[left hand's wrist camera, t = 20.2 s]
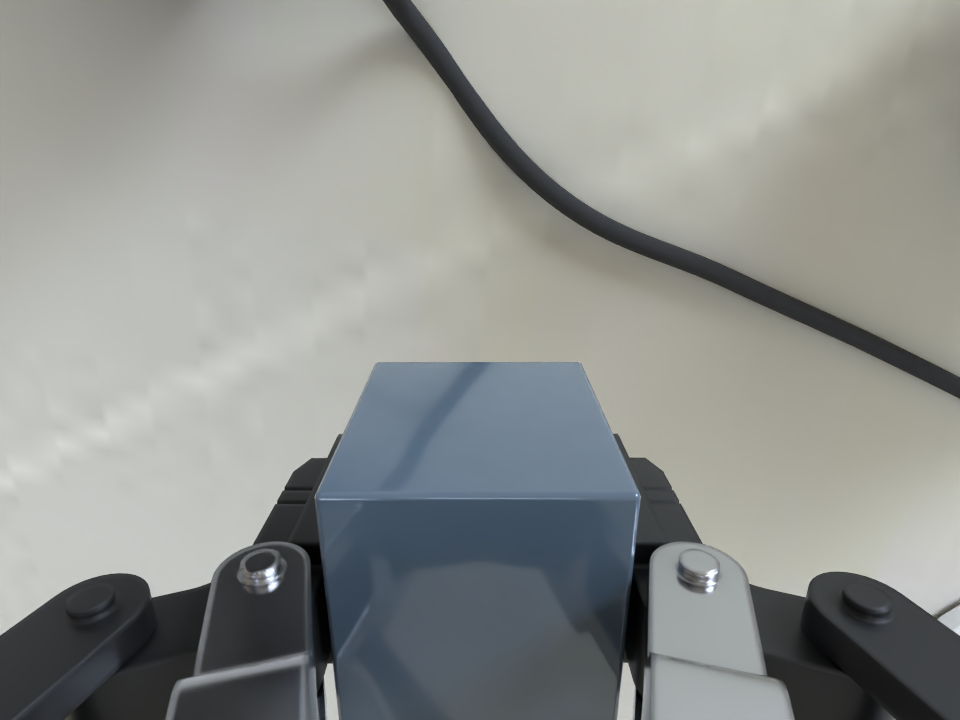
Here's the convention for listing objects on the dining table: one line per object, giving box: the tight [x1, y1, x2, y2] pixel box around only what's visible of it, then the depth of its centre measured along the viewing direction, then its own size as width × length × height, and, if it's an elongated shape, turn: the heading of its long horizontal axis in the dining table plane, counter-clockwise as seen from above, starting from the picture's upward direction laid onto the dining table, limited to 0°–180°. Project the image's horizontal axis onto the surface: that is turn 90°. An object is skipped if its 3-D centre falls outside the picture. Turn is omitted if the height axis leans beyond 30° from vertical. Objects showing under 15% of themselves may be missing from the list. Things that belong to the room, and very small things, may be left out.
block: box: [314, 362, 641, 720], centre depth 10 cm, size 5×4×5 cm
